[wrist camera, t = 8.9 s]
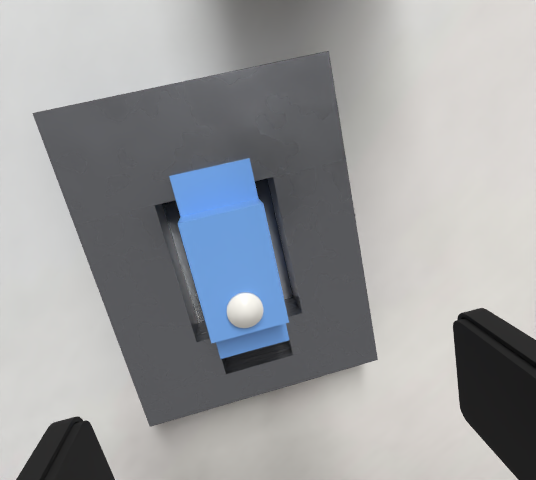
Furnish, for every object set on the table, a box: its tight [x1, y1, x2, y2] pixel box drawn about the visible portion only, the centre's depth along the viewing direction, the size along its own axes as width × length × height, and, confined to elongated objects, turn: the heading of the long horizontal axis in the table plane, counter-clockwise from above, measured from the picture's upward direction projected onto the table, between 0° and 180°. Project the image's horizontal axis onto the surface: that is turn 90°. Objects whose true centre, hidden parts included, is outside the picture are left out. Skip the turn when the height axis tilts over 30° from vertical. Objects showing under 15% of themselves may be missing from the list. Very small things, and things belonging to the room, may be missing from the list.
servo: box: [169, 158, 289, 359], centre depth 22 cm, size 4×12×6 cm, turn 12°
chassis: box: [33, 51, 378, 426], centre depth 23 cm, size 16×20×3 cm
